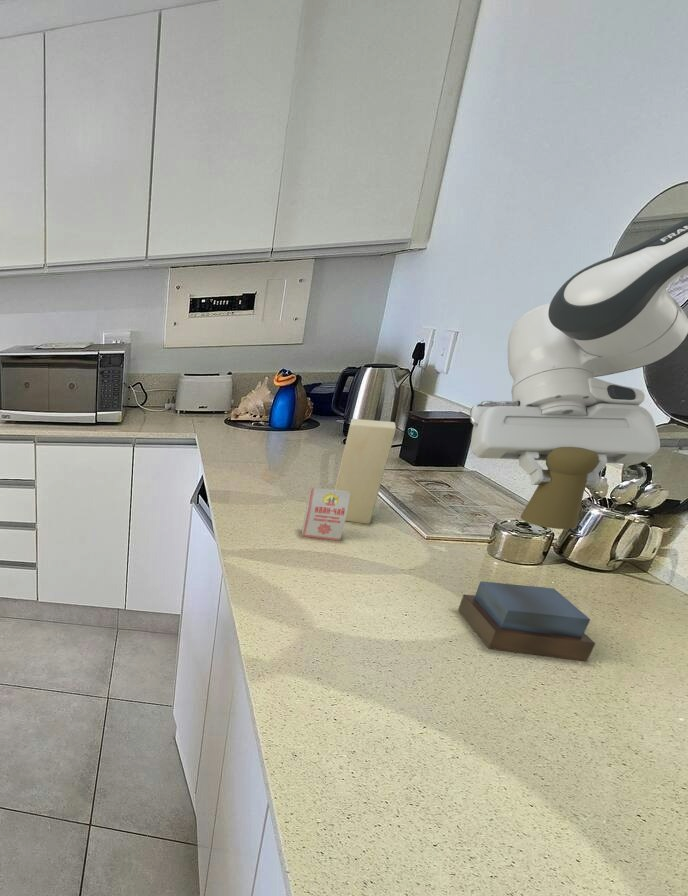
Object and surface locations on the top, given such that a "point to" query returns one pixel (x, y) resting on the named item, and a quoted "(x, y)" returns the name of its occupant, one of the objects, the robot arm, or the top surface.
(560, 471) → the cork
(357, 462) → the cream tall block
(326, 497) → the tea bag
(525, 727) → the top surface
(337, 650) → the top surface
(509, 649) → the block stack
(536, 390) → the robot arm
